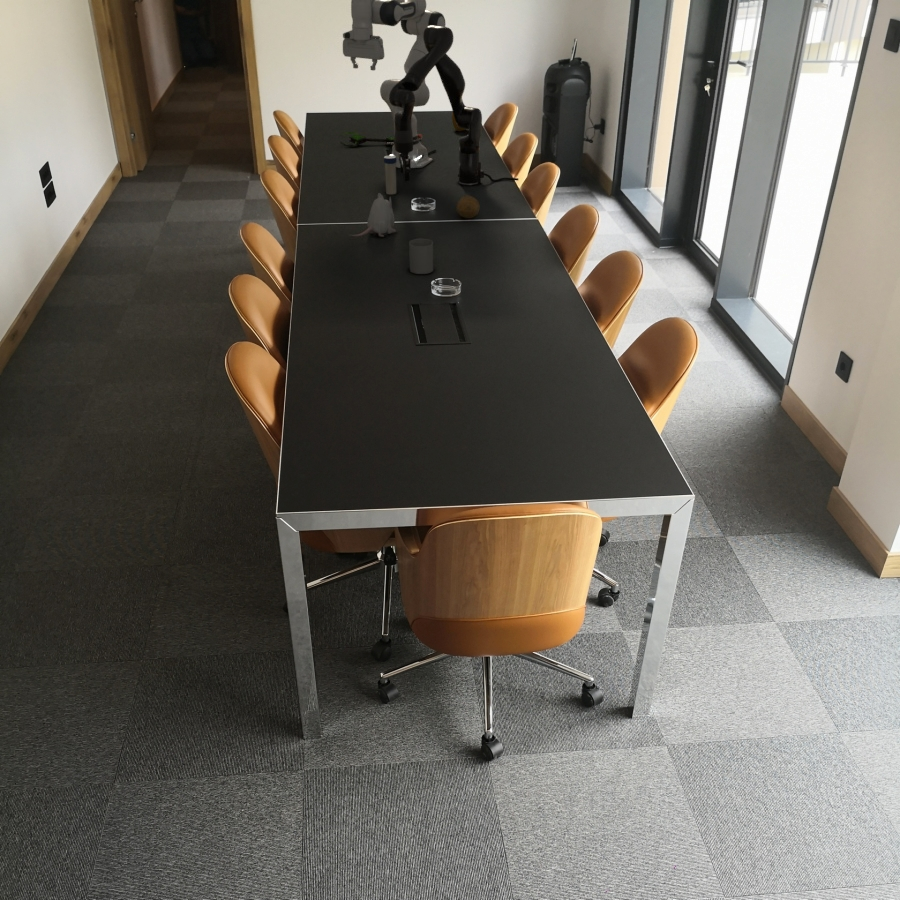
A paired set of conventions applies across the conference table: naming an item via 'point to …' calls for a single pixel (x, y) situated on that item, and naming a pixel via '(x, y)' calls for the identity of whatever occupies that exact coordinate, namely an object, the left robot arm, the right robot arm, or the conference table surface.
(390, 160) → the lid
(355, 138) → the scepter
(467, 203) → the potato
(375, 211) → the toy
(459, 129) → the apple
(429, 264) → the cup
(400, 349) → the conference table surface
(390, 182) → the jar
